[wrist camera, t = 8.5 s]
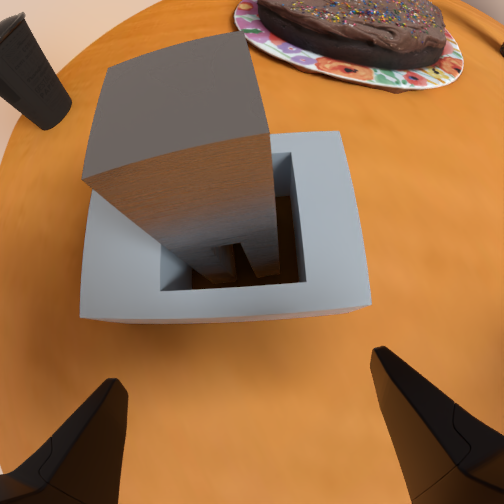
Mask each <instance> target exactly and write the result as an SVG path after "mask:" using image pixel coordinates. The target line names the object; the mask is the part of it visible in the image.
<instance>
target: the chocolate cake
mask: <svg viewBox="0 0 504 504" xmlns="http://www.w3.org/2000/svg"><path fill="white" fill-rule="evenodd" d="M233 17H234V24H235V25H236V27H237V28H238V30H239V31H242V30H244V34H245V38H246V41H247V42H249V43H250V44H251V45H253V46H254V47H255V48H258V49H259V50H260V51H263V52H264V53H266V54H269V55H270V56H273V57H275V58H277V59H280V60H284V61H286V62H288V63H290V64H291V65H292V66H294V67H295V68H296V69H298V70H299V71H302V72H304V73H320V74H328V75H329V76H331V77H334V78H337V79H340V80H342V81H344V82H349V83H354V84H358V85H362V86H365V87H369V88H374V89H380V90H384V91H387V92H391V93H394V94H399V93H402V92H406V91H410V90H424V89H431V88H436V87H441V86H445V85H448V84H450V83H453V82H455V81H456V80H457V79H458V78H459V76H460V75H461V74H462V70H463V64H464V62H463V57H462V53H461V51H460V50H459V47H458V45H457V43H456V42H455V40H454V39H453V37H452V36H451V34H450V33H449V32H448V31H447V30H446V29H445V24H444V22H443V16H442V14H441V10H440V9H439V8H438V7H437V6H435V5H433V4H432V2H429V1H428V0H242V1H241V2H240V3H239V4H238V6H237V8H236V10H235V12H234V16H233Z"/></svg>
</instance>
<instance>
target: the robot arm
mask: <svg viewBox="0 0 504 504" xmlns="http://www.w3.org/2000/svg"><path fill="white" fill-rule="evenodd" d="M370 369H371V373H372V377H373V381H374V385H375V389H376V393H377V397H378V401H379V405H380V409H381V412H382V414H383V417H384V420H385V423H386V425H387V428H388V431H389V434H390V437H391V440H392V442H393V445H394V448H395V451H396V454H397V457H398V460H399V463H400V466H401V469H402V472H403V476H404V479H405V482H406V485H407V489H408V492H409V495H410V499H411V501H412V504H504V435H502V434H500V433H499V432H497V431H496V430H494V429H492V428H491V427H489V426H487V425H486V424H484V423H483V422H481V421H480V420H478V419H477V418H475V417H474V416H472V415H471V414H470V413H468V412H467V411H466V410H464V409H463V408H462V407H461V406H459V405H458V404H457V403H455V402H454V401H453V400H452V399H451V398H449V397H448V396H447V395H446V394H444V393H443V392H442V391H441V390H439V389H438V388H437V387H436V386H434V385H433V384H432V383H431V382H429V381H428V380H427V379H426V378H424V377H423V376H422V375H421V374H419V373H418V372H417V371H416V370H415V369H413V368H412V367H411V366H410V365H408V364H407V363H406V362H405V361H403V360H402V359H401V358H400V357H398V356H397V355H396V354H394V353H393V352H392V351H391V350H389V349H388V348H387V347H386V346H380V347H376V348H374V349H373V350H372V355H371V362H370ZM454 403H455V404H454ZM127 410H128V392H127V390H126V389H125V388H124V386H123V385H122V384H121V382H120V381H119V380H118V379H117V378H108V379H106V380H105V381H104V382H103V383H102V384H101V385H100V386H99V387H98V388H97V389H96V390H95V391H94V392H93V393H92V394H91V395H90V396H89V397H88V398H87V400H86V401H85V402H84V403H83V404H82V405H81V406H80V407H79V408H78V409H77V410H76V411H75V412H74V413H73V414H72V415H71V416H70V417H69V418H68V419H67V420H66V421H65V422H64V423H63V424H62V425H61V426H60V428H59V429H58V430H57V431H56V432H55V433H54V434H53V435H52V437H50V438H49V439H48V440H47V441H46V442H45V443H44V444H43V445H42V446H41V447H40V448H39V449H38V450H37V451H36V452H35V453H34V454H33V455H31V456H30V457H29V458H28V459H27V460H26V461H25V462H23V463H22V464H21V465H20V466H19V467H18V468H16V469H15V470H14V471H12V472H10V473H7V474H2V475H0V504H118V497H119V486H120V476H121V467H122V459H123V452H124V444H125V437H126V429H127Z"/></svg>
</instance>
